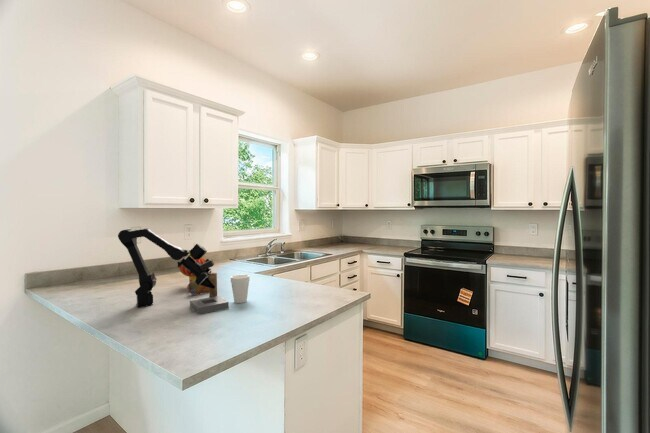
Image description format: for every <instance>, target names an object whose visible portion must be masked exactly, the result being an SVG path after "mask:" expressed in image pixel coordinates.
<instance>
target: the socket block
mask: <svg viewBox="0 0 650 433" xmlns="http://www.w3.org/2000/svg"><path fill="white" fill-rule="evenodd" d="M229 304H230V303H229V300H226V299H225V298H223V297H222V296H220V295H217V296H214V297H204V298H203V297H202V298H200V299H192V300H189V308H191V309H192V310H193V311H194V312H195V313H196V314H198V315H203V314H206V313H207V314H208V313H211V312H217V311H222V310H226V309H229Z"/></svg>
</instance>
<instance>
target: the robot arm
mask: <svg viewBox="0 0 650 433" xmlns="http://www.w3.org/2000/svg"><path fill="white" fill-rule="evenodd" d="M142 237H143V238H146V240H149V241H150V242H151V243H153V244H155V245H156V246H158V247H159V248H161V249H162V250H163V251H164V252H165V253H166V254H167V256H169V257H170V258H171V259H172V260H174V261H177V268H179V267H180V266H181V265H183V266H184V267H185V268H186V269H187V270H189V269H190V270H189V271H190V272H189V273H190V274H191V273H192V274H193V275H194V276H196V280H195V283H196V284H197V285H199V284H200V285H202V286H206V287H209V288H213V289H214V288H215V286H214V285H213V283H212V282H211V281H210V280H209V273H212V269H211V268H212V267H214V265H215V263H214V260H213V259H210V258H207V259H206V258H205V259H206V260H205V263H203V264H201V263H196V261H195V260H197V259H198V260H199V259H200V258H201V257H204V256H205V255H206V253H208V251H207V249H206V248H205V247H204V246H202V245H200V244H199V243H195V244H194V245H193V247H192V248H191V249H190V250H189V249H184V248H182V247H180V246H178V245H175V244H172V243H170V242H169V241H167V240H166V239H165V238H162V237H161V236H160V235H158V234H157V233H155V232H154V231H152V230H151V229H149V228H142V229H136V230H133V229H131V228H127V229H122V230H120V231H118V234H117V238H118V240H119V242H120V243H121V244H122V245H123V247H125V248H126V249H127V252H128V254H129V256H130V258H131V261H132V263H133V266H134V267H135V269H136V273H137V274H138V284H139V287H138V288H137V289H136V290H135V291H134V293H135V295H136V304H135V305H136V307H137V308H143V307H144V308H145V307H148V306H149V307H150V306H153V305H154V294H152V293H153V292H152V290H153V288H154V287H156V284H157V279H158V278H156V276H155V272H154V271H153V272H150V271H149V270H148V267H147V265H146V263H145V261H144V257H143V256H142V254H141V252H140V250H139V247H138V245H137V244H138V240H137V238H142ZM188 254H190V255H188ZM190 256H191V257H190ZM193 258H194V259H195V260H194V259H193ZM195 263H196V264H195Z"/></svg>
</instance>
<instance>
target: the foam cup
mask: <svg viewBox="0 0 650 433" xmlns="http://www.w3.org/2000/svg"><path fill="white" fill-rule="evenodd" d="M230 283H231V290H232V294H233V295H232V296H233V301H234V302H233V303H236V304H245V303H246V302H247V301H248V293H249V292H248V291H249V285H250V284H249V283H250V275H249V274H244V273H243V274H234V275H231V276H230Z"/></svg>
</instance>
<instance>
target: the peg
mask: <svg viewBox="0 0 650 433" xmlns="http://www.w3.org/2000/svg"><path fill="white" fill-rule="evenodd" d="M217 274H218V273H217V272H211V273H209V280H210V281H211V282H212V283H213V285H214V286H215V288H214V289H213V288H209V292H208V296H209V297H214V296H218V275H217Z"/></svg>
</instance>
